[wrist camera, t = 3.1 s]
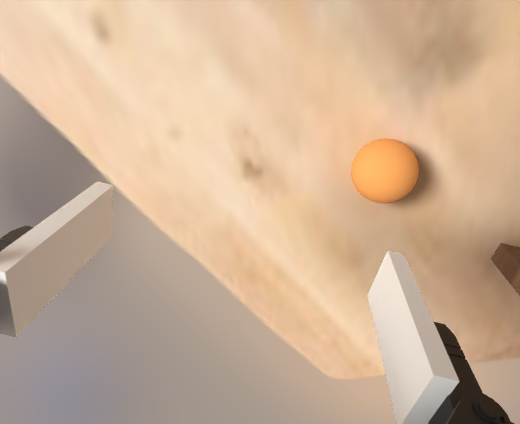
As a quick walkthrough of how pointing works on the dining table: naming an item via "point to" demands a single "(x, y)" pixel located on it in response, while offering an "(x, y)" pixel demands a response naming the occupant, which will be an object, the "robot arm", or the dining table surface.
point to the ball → (385, 170)
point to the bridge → (509, 264)
